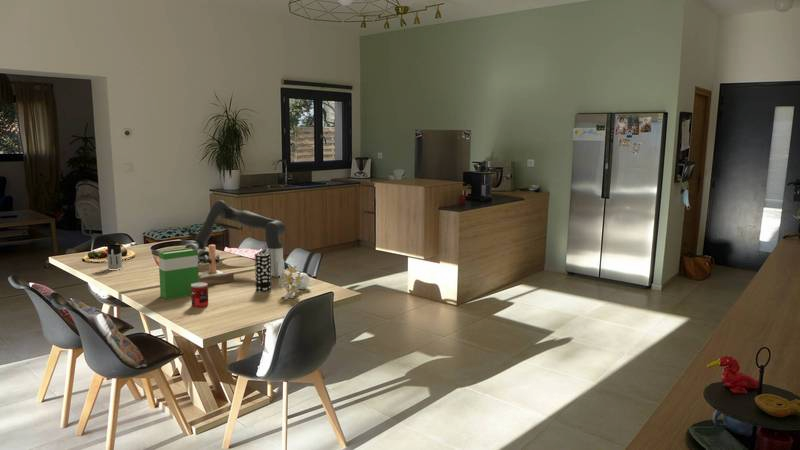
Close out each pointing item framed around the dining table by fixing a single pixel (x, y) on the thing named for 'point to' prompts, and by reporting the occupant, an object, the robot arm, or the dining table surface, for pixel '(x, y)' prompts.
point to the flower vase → (294, 281)
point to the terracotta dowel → (212, 259)
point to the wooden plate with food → (103, 256)
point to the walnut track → (217, 279)
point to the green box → (177, 272)
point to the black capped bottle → (114, 256)
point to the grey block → (207, 274)
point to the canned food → (199, 294)
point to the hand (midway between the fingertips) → (214, 261)
